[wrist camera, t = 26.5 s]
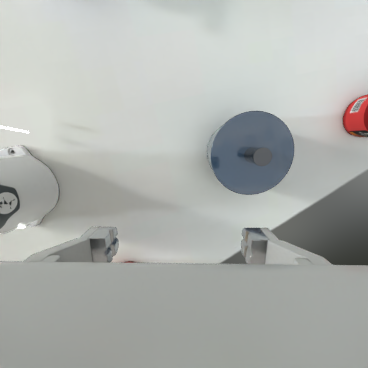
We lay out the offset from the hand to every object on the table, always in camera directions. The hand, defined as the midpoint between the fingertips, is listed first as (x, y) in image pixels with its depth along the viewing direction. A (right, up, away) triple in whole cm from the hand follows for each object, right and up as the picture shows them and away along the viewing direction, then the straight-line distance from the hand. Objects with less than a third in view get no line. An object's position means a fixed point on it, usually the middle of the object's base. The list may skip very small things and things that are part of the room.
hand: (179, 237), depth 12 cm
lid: (+11, +8, +18) cm, 23 cm away
